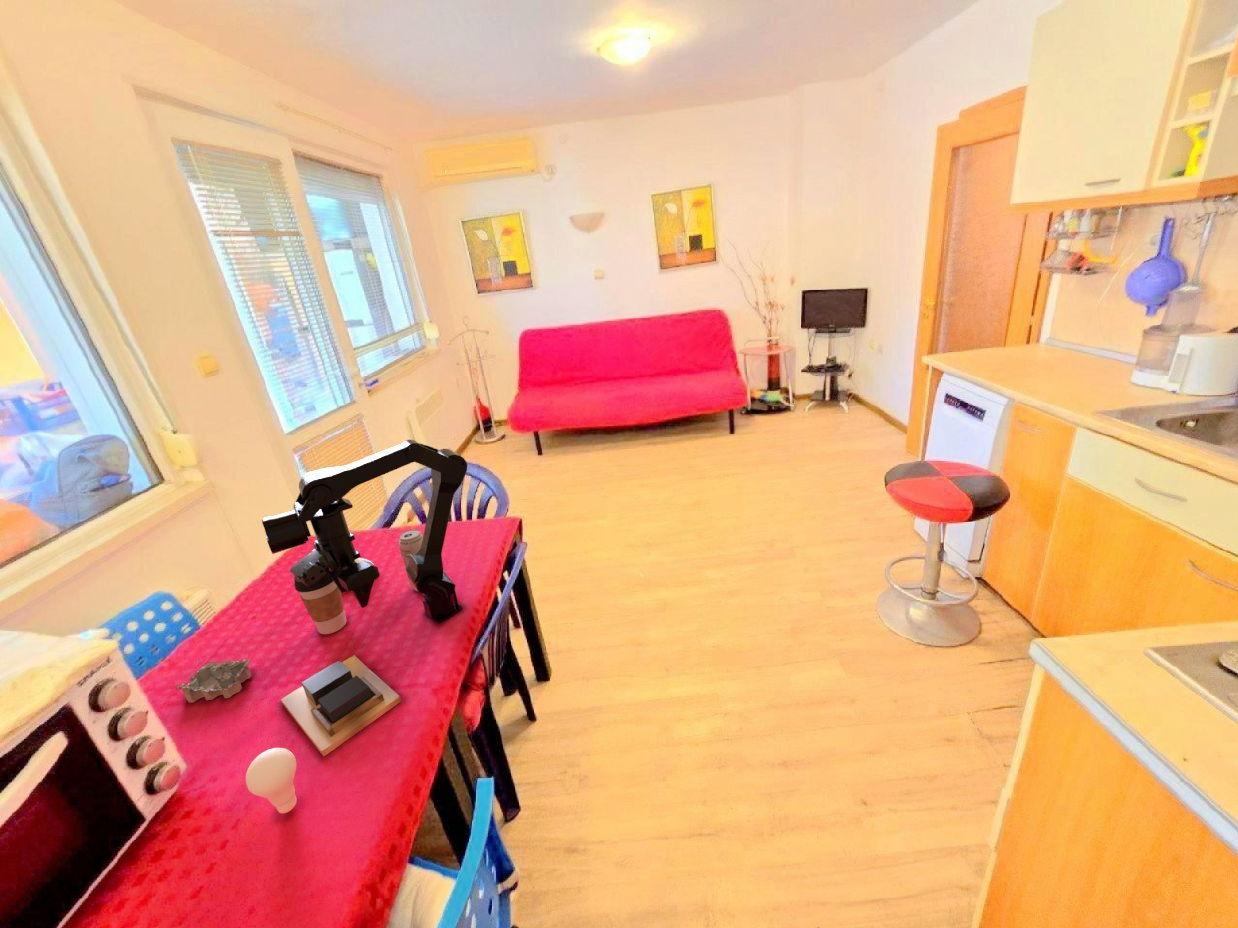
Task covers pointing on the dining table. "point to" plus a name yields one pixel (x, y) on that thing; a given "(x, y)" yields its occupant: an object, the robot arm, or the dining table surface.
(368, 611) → the dining table surface
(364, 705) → the backing board
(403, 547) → the energy drink can
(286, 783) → the lightbulb
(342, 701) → the dark rectangular block
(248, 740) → the dining table surface
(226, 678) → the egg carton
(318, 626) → the coffee cup
